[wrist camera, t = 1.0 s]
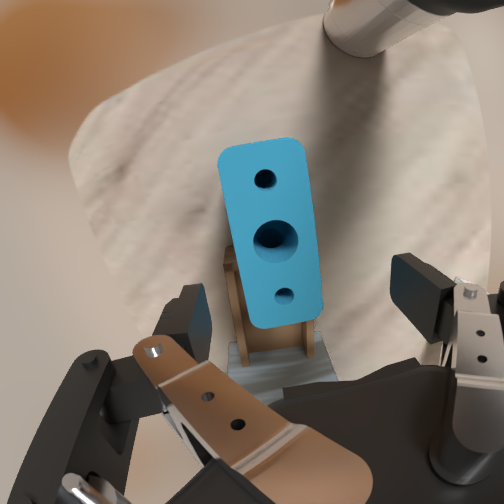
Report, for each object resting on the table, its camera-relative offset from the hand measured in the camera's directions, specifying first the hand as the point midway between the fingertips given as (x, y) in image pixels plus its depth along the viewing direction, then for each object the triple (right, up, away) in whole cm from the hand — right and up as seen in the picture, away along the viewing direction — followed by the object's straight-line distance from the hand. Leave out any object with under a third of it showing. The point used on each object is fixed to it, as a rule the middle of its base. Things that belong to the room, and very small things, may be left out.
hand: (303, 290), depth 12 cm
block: (-1, +9, +25) cm, 27 cm away
